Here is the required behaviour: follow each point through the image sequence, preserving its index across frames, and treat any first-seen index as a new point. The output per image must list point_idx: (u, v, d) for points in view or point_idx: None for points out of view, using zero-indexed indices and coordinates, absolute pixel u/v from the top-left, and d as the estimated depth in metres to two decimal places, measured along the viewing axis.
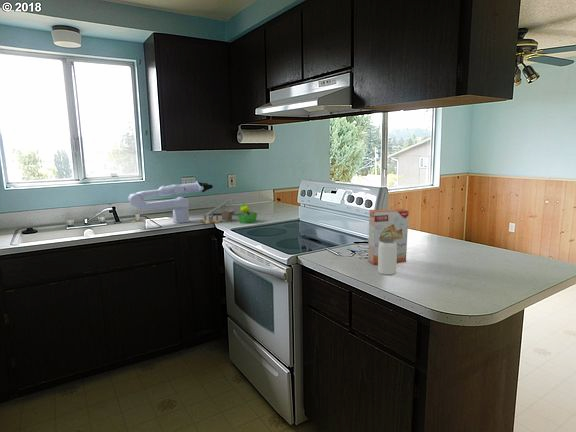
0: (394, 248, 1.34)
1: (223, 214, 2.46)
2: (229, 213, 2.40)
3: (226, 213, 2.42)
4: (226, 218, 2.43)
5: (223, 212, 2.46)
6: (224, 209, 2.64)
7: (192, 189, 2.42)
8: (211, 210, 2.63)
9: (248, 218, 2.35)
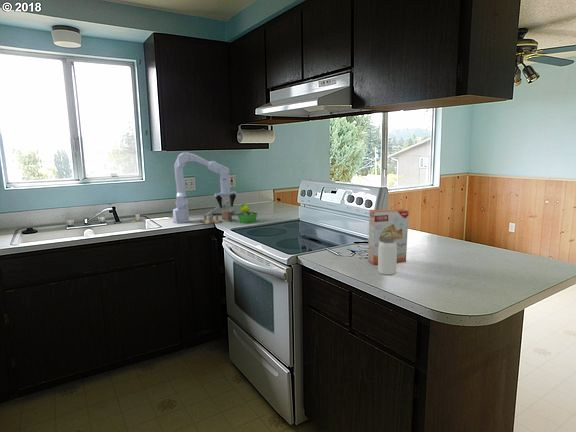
0: (394, 248, 1.34)
1: (223, 214, 2.46)
2: (229, 213, 2.40)
3: (226, 213, 2.42)
4: (226, 218, 2.43)
5: (223, 212, 2.46)
6: (224, 209, 2.64)
7: None
8: (211, 210, 2.63)
9: (248, 218, 2.35)
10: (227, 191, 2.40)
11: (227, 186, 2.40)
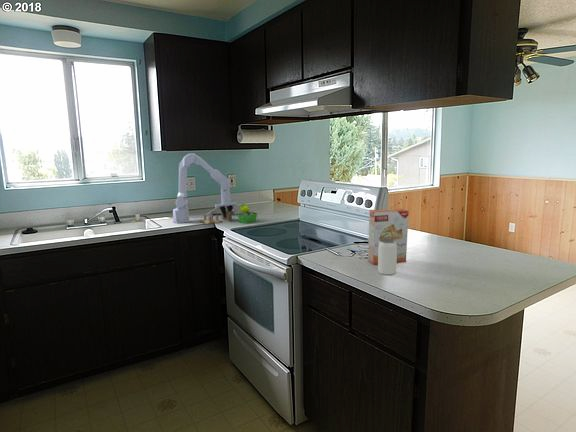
0: (394, 248, 1.34)
1: None
2: (229, 213, 2.40)
3: (226, 213, 2.42)
4: (226, 218, 2.43)
5: None
6: None
7: (221, 198, 2.42)
8: (211, 210, 2.63)
9: (248, 218, 2.35)
10: (228, 202, 2.41)
11: (228, 197, 2.41)
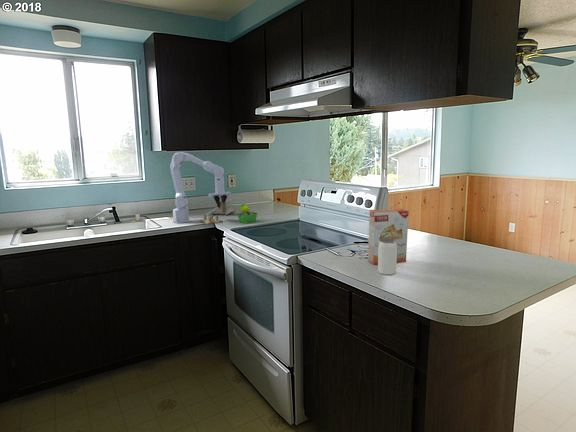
0: (394, 248, 1.34)
1: None
2: (223, 204, 2.38)
3: (220, 204, 2.40)
4: (220, 209, 2.41)
5: None
6: None
7: (215, 187, 2.40)
8: (211, 210, 2.63)
9: (248, 218, 2.35)
10: (222, 191, 2.39)
11: (222, 186, 2.38)
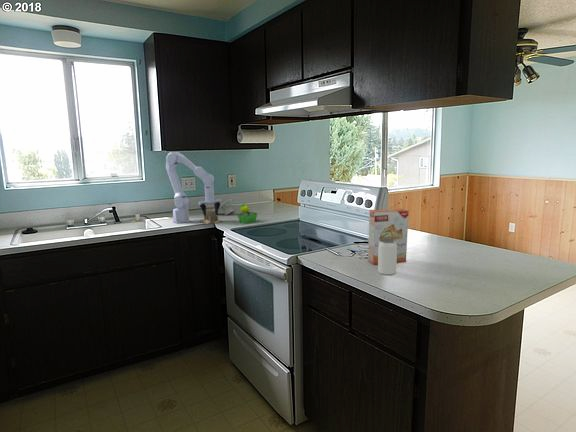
0: (394, 248, 1.34)
1: (207, 214, 2.42)
2: (213, 213, 2.37)
3: (210, 213, 2.38)
4: None
5: (207, 212, 2.42)
6: (224, 209, 2.64)
7: (205, 195, 2.38)
8: None
9: (248, 218, 2.35)
10: (211, 199, 2.37)
11: (211, 194, 2.37)
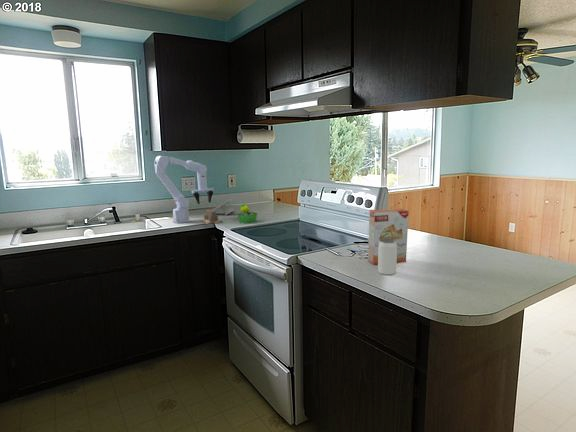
0: (394, 248, 1.34)
1: (207, 214, 2.42)
2: (213, 213, 2.37)
3: (210, 213, 2.38)
4: None
5: (207, 212, 2.42)
6: (224, 209, 2.64)
7: (198, 183, 2.47)
8: None
9: (248, 218, 2.35)
10: (204, 188, 2.46)
11: (204, 183, 2.46)
